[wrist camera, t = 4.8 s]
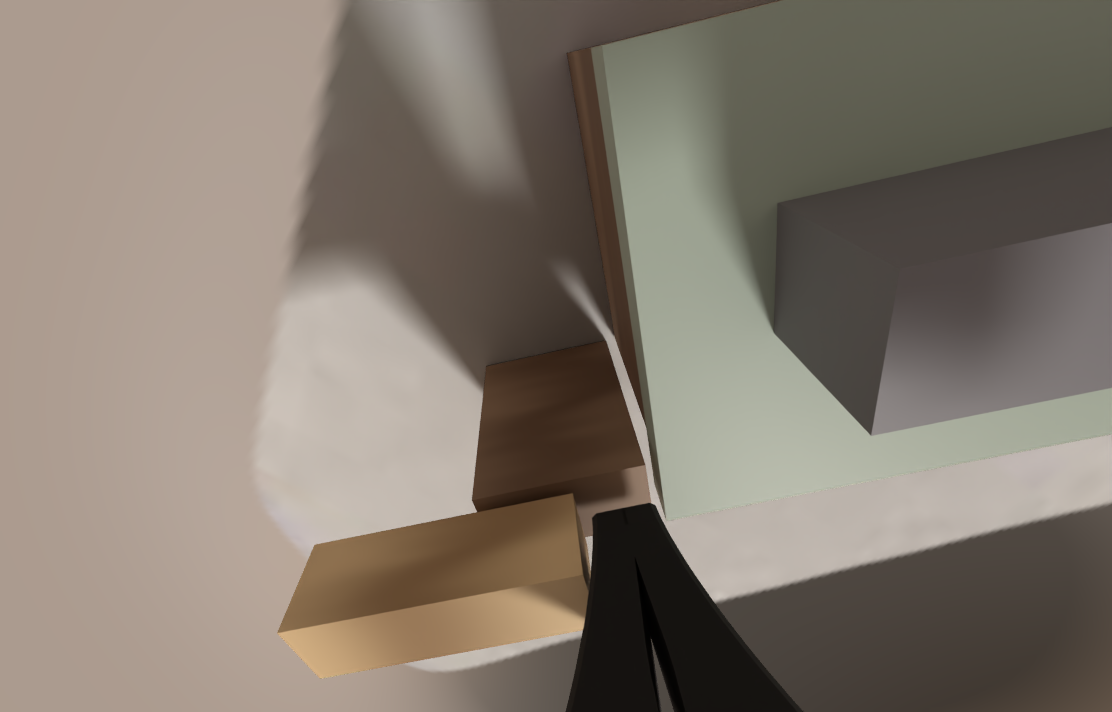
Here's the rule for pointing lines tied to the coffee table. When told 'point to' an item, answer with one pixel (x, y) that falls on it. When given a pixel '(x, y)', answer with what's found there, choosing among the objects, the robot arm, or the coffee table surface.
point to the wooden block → (441, 588)
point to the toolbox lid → (862, 238)
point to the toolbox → (569, 381)
